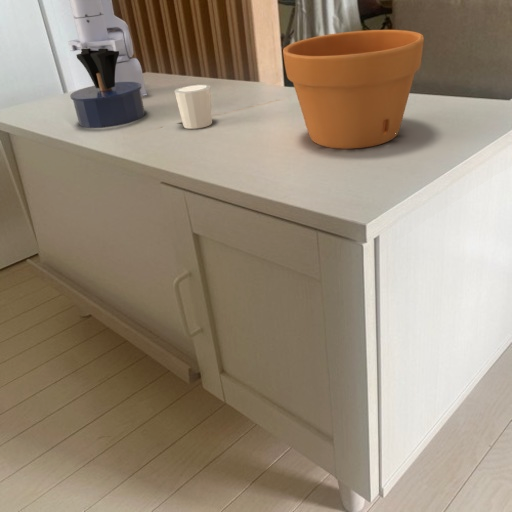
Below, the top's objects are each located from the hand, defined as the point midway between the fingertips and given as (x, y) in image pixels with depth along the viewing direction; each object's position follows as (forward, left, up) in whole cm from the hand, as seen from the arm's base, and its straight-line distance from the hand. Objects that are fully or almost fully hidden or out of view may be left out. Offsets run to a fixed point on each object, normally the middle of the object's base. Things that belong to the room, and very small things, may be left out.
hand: (105, 87), depth 111 cm
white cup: (-12, +18, -7) cm, 23 cm away
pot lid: (0, 0, -1) cm, 1 cm away
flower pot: (-28, +46, -7) cm, 54 cm away
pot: (0, 0, -7) cm, 7 cm away
